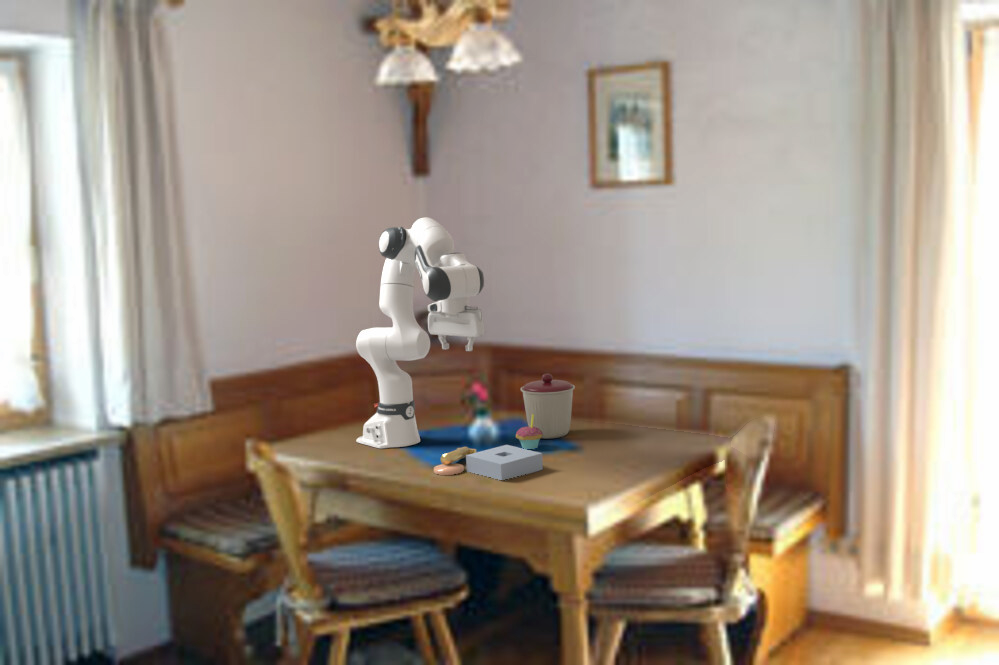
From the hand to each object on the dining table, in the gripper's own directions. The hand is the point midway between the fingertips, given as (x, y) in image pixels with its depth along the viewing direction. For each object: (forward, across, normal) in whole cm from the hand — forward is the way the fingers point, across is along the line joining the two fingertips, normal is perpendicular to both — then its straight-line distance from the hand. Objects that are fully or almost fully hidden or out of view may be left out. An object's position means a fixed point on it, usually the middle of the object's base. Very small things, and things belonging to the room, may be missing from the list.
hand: (457, 350), depth 320 cm
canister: (+34, -8, -36) cm, 50 cm away
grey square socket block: (+34, -21, +6) cm, 40 cm away
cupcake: (+34, -12, -19) cm, 41 cm away
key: (+31, -4, +13) cm, 34 cm away
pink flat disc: (+34, -6, +14) cm, 38 cm away
